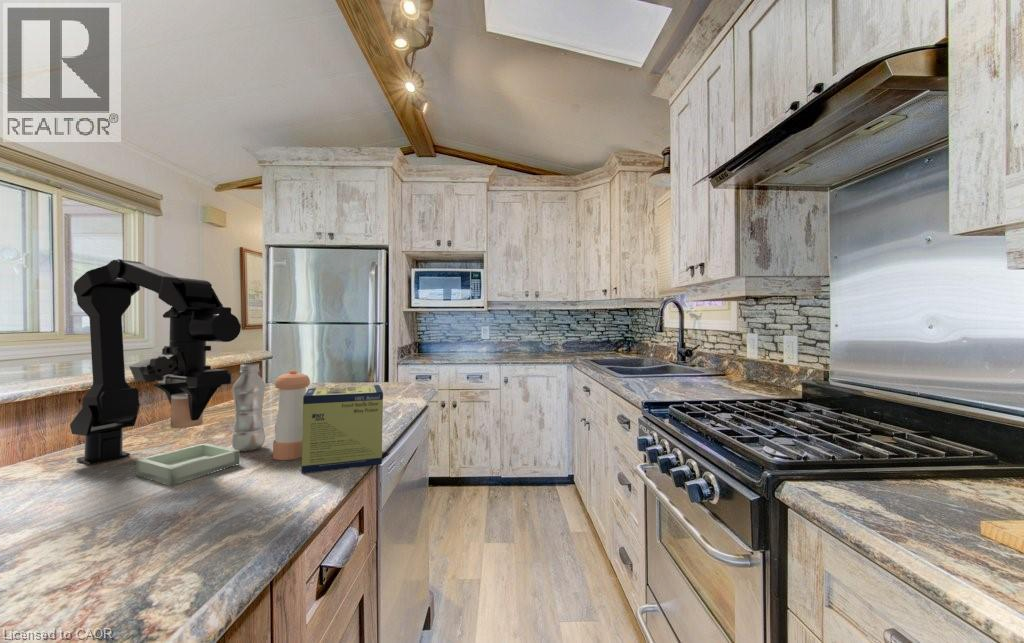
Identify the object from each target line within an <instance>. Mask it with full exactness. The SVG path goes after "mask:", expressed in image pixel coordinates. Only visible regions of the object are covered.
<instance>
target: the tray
mask: <svg viewBox="0 0 1024 643" xmlns="http://www.w3.org/2000/svg"><path fill="white" fill-rule="evenodd" d="M236 464H239V465H240V451H239V450H235V449H234V448H229V447H224V446H222V445H216V444H211V443H207V442H204V443H201V444H196V445H192V446H188V447H183V448H179V449H175V450H170V451H166V452H163V453H159V454H154V455H151V456H146V457H142V458H138V459H136V460H135V476H137V475H138V476H137V477H140V476H141V478H143V477H145V478H144V479H147V478H149V479H148V480H150V479H152V480H151V481H153V480H155V481H154V482H157V481H158V482H157V483H160V482H161V483H160V484H163V483H165V484H164V485H166V484H167V486H171V485H172V486H175V485H178V484H181V482H182V483H185V482H188V481H191V480H195V479H197V478H196V477H198V478H200V477H199V476H201V477H203V476H202V475H204V476H207V475H206V474H208V473H211V472H214V471H217V470H220V469H224V468H227V467H230V466H233V465H236ZM230 468H231V467H230ZM227 469H228V468H227ZM224 470H225V469H224ZM217 472H218V471H217ZM214 473H215V472H214ZM211 474H212V473H211ZM208 475H209V474H208ZM194 478H195V479H194ZM190 479H191V480H190ZM187 480H188V481H187ZM184 481H185V482H184ZM172 486H171V487H172Z"/></svg>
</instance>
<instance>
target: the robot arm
mask: <svg viewBox="0 0 1024 643" xmlns="http://www.w3.org/2000/svg"><path fill="white" fill-rule="evenodd" d="M212 286H213V285H212V283H211V282H210V281H208V280H205V279H204V280H203V279H198V278H197V279H196V278H189V277H188V278H187V277H179V276H176V275H173V274H170V273H168V272H165V271H162V270H160V269H157V268H155V267H151V266H149V265H146V264H144V263H142V262H141V261H135V260H127V259H121V258H117V259H112V260H111V261H110V262H108V263H107V264H106V265H104V266H99V267H97V268H93V269H90V270H87V271H86V272H85V273H83V274H82V275H81V276H80V277H79V278H78V279H76V281H75V282H74V283H73V292H74V294H75V296H76V302H77V305H78V307H79V308H80V309H81V310H82V312H84V313H85V314H86V315H87V316H88V318H89V330H90V331H89V332H90V333H89V334H90V350H91V351H90V352H91V353H90V354H91V365H92V366H91V370H92V385H91V387H90V388H89V389H88V390H87V392H86V394H85V395H84V396H83V398H82V405H81V408H80V410H79V412H78V413H77V415H76V416H75V417H74V418H73V420H72V421H71V423H70V424H69V427H70V431H71V432H70V433H71V434H72V435H77V436H84V456H81V457H77V458H76V462H80V463H82V464H83V463H84V464H87V465H94V464H100V463H103V462H108V461H111V460H112V461H113V460H117V459H120V458H121V459H122V458H125V457H130V456H131V453H130V452H125V451H124V450H123V441H124V439H123V435H124V434H123V433H124V428H128V427H129V428H130V427H135V425H136V421H137V418H138V415H139V411H140V408H141V407H140V405H141V404H140V402H139V389H138V388H137V387H132V386H131V385H130V384H129V383H128V382H127V381H126V372H125V371H126V370H125V355H124V354H125V351H124V338H123V337H124V336H123V333H124V332H123V318H122V316H123V315H124V314H125V312H126V311H127V310H128V308H129V307H130V306H131V303H132V297H133V296H134V295H135V294H136V293H137V292H139V291H140V290H141V287H142V288H144V289H146V290H149V291H152V292H154V293H156V294H158V297H157V298H158V299H160V300H161V301H162V302H163V303H164V304H166V305H169V307H170V309H169V310H167V311H165V312H164V313H163V314H162V318H165V319H169V345H164V346H163V348H162V352H161V354H159V355H157V356H153V357H150V358H146V359H143V360H141V361H138V362H135V363H132V364H130V365H128V367H129V369H130V371H131V374H132V375H133V378H134V380H135V382H137V383H139V382H142V383H144V384H148V383H153V386H155V387H156V388H158V389H160V390H161V391H163V392H164V393H165V395H166V398H167V400H168V403H169V404H170V406H171V395H172V394H177V393H186V394H187V395H188V400H189V409H190V416H191V420H192V421H194V420H198V419H199V418H200V416H201V414H202V412H203V413H204V411H205V409H206V407H207V405H208V404H209V402H210V400H211V399H212V398H213V396H214V395H215V393H216V391H217V390H218V389H219V388H220V387H221V386H223V385H230V384H233V379H232V378H233V373H232V372H231V371H229V370H228V369H222V368H212V369H211V367H212V366H211V365H208V364H207V363H206V361H207V352H212V346H211V345H207V342H211V343H212V342H213V343H214V342H216V343H217V342H218V343H219V342H220V343H229V342H232V341H234V340H236V338H238V336H239V335H240V334H241V328H242V326H241V325H242V324H241V323H240V320H239V319H238V317H237V316H235V314H233V313H232V308H231V306H230V307H225V306H223V303H222V301H220V299H219V297H218V295H217V293H216V291H215V290H214V288H213V287H212ZM156 381H157V383H154V382H156Z"/></svg>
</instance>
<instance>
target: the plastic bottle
mask: <svg viewBox="0 0 1024 643" xmlns="http://www.w3.org/2000/svg"><path fill="white" fill-rule="evenodd" d="M239 373H240V376H239V377H238V379H236V381H235V382H234V383H233V386H232V395H233V396H232V397H233V402H234V411H235V413H234V414H235V415H234V417H235V418H234V425H233V427H234V428H233V432H232V437H231V445H232V449H235V450H239V452H251V451H254V450H257V449H261V448H262V446H263V445H264V444H265V441H266V433H265V428H264V420H263V408H264V407H263V406H264V398H265V393H266V392H265V391H266V384H265V381H264V380H263V378H262V377H261V376H260V375H259V373H260V365H259V363H244V364H240V368H239ZM250 450H251V451H250Z"/></svg>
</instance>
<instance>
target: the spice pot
mask: <svg viewBox="0 0 1024 643" xmlns="http://www.w3.org/2000/svg"><path fill="white" fill-rule="evenodd" d="M203 423H204V411H203V412H202V414H201V416H200V418H199V419H198V420H194V421H192V420H191V416H190V409H189V400H188V395H187V394H186V393H177V394H172V395H171V405H170V423H169V424H170V425H169V426H170V428H171V429H185V428H192V427H198V426H201V425H203Z"/></svg>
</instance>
